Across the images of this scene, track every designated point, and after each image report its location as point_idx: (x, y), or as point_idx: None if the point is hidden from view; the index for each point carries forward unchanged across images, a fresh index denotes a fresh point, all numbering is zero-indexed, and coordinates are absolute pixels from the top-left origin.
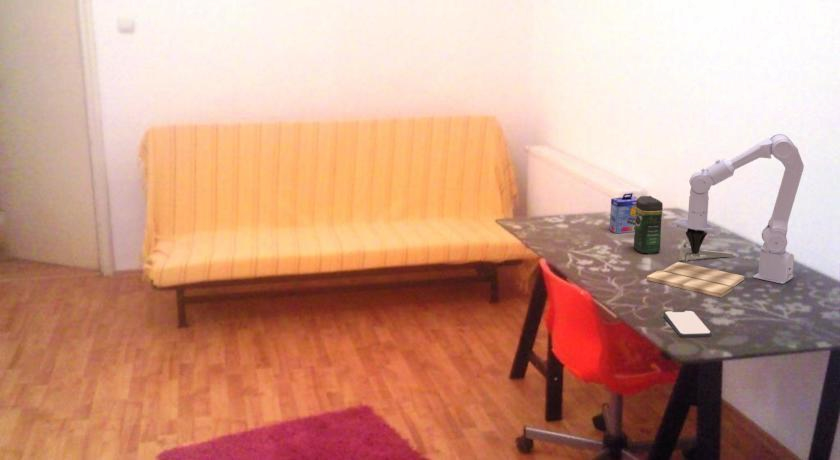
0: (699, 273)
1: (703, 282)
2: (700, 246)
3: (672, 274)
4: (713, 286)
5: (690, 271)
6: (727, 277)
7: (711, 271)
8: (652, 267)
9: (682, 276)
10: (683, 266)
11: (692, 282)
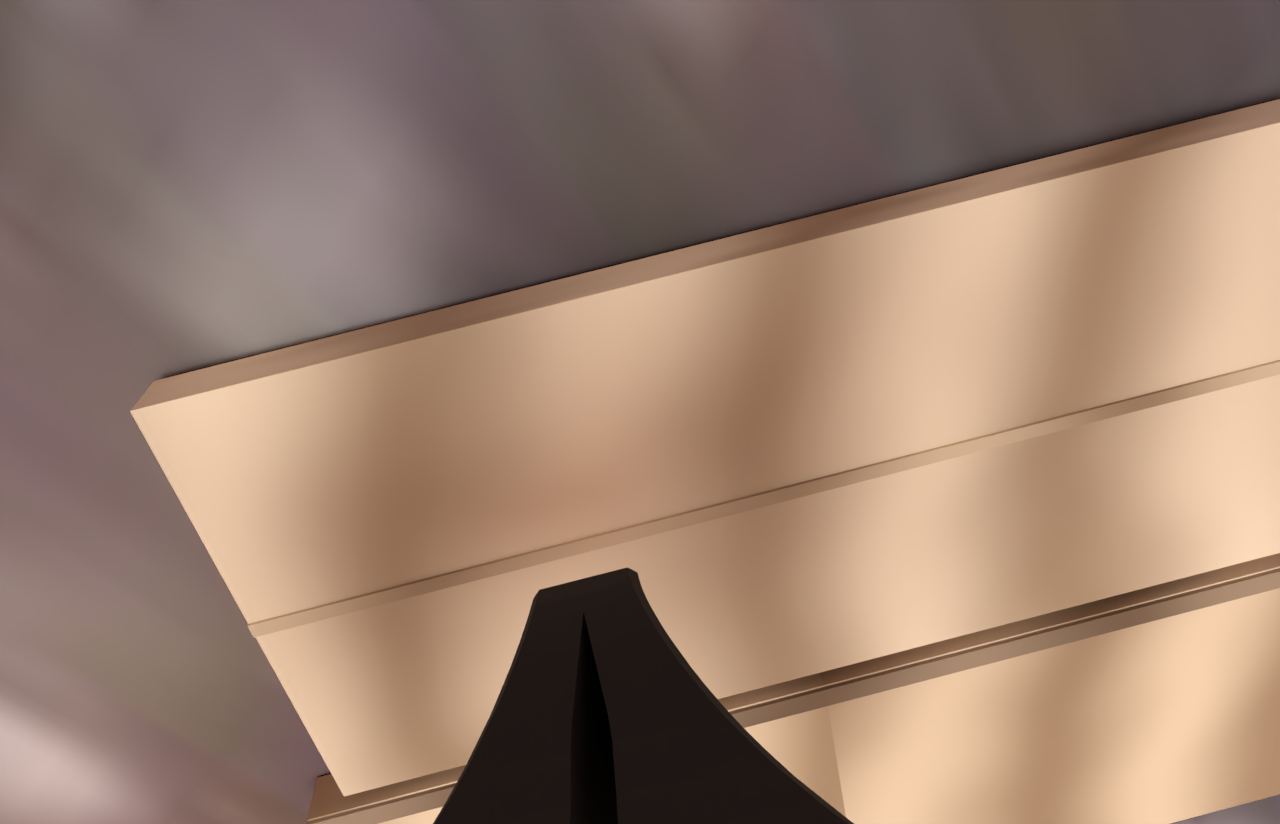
0: (766, 537)
1: (989, 713)
2: (672, 642)
3: None
4: (1141, 715)
5: None
6: (1161, 363)
7: (847, 342)
8: (38, 696)
9: None
10: (389, 504)
11: (894, 798)
